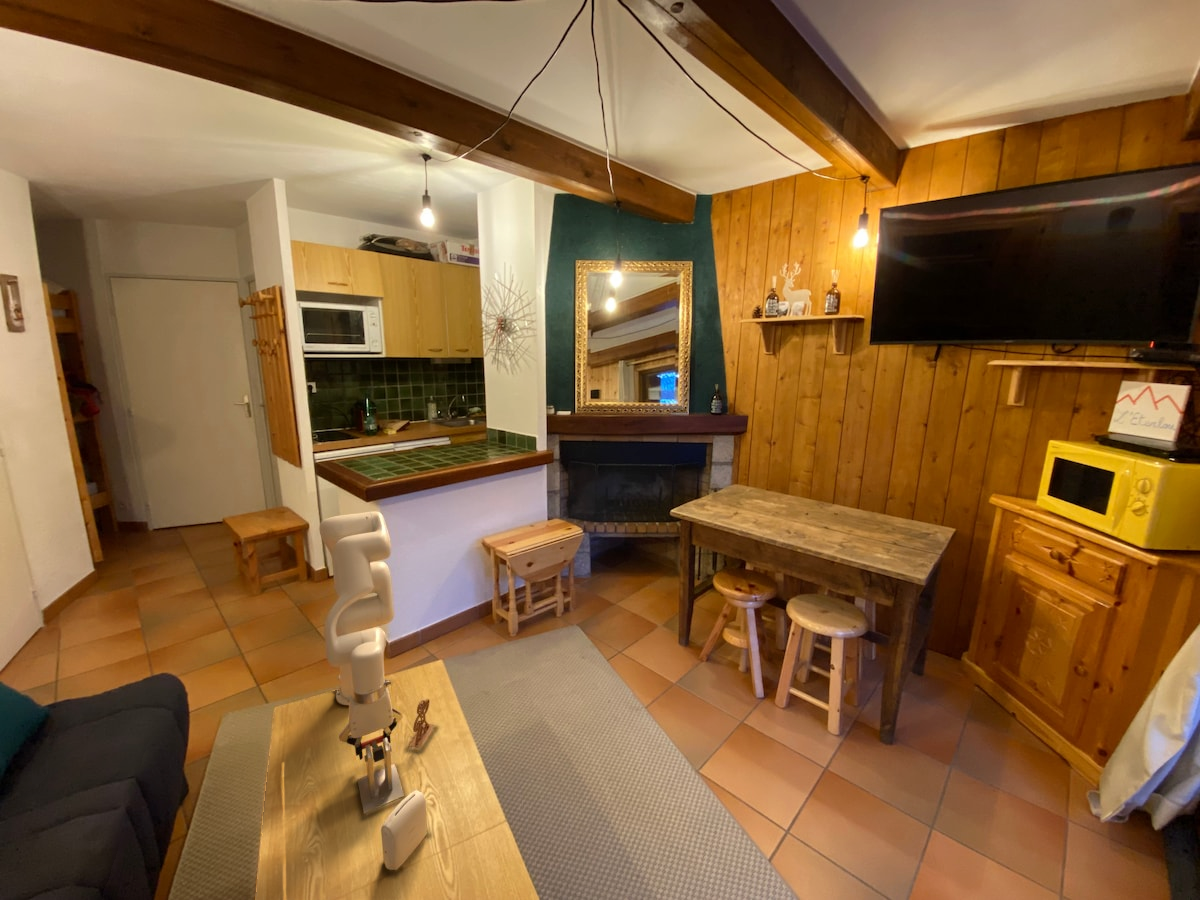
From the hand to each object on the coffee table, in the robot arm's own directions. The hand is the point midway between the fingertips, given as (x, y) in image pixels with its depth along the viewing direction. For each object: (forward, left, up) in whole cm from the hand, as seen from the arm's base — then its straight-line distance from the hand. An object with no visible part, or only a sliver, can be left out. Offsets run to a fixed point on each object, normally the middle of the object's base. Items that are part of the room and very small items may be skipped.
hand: (373, 750), depth 127 cm
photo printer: (+26, -10, -5) cm, 29 cm away
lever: (+5, -2, +3) cm, 6 cm away
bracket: (+8, -4, -5) cm, 10 cm away
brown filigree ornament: (+3, +13, -5) cm, 14 cm away
